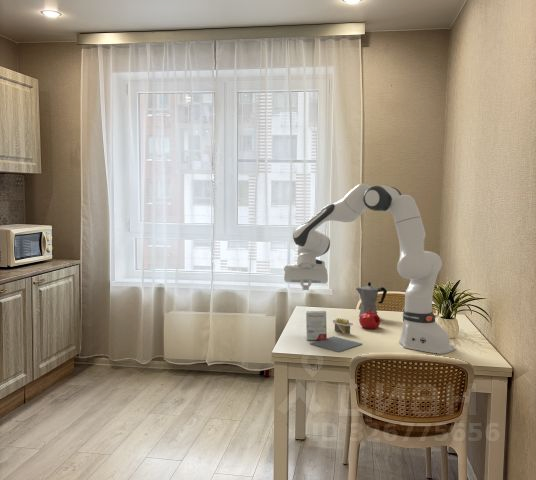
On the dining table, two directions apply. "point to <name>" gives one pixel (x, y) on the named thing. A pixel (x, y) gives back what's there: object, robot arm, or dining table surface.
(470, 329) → the dining table surface
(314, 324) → the ink box
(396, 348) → the dining table surface
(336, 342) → the mat
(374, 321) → the pomegranate
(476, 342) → the dining table surface
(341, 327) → the rectangular planter
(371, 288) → the coffeepot
